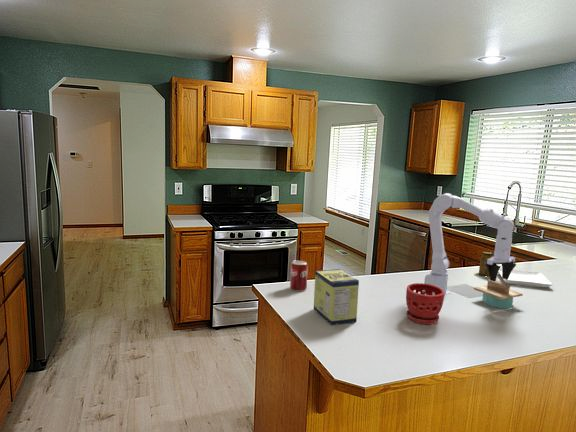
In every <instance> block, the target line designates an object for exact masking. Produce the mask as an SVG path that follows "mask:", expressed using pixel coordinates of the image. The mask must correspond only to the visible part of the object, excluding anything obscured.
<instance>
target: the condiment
mask: <svg viewBox="0 0 576 432" xmlns="http://www.w3.org/2000/svg"><path fill="white" fill-rule="evenodd" d="M492 257H494V253H493V252H490V251H482V252H481V257H480V260H479V267H478V268H479V269H478V272H477V273H473V275H475V276H478V277H481V278H487V279H490V277H489V271H488V269H487V266H486V263H487V259H490V258H492ZM485 276H487V277H485Z"/></svg>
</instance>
